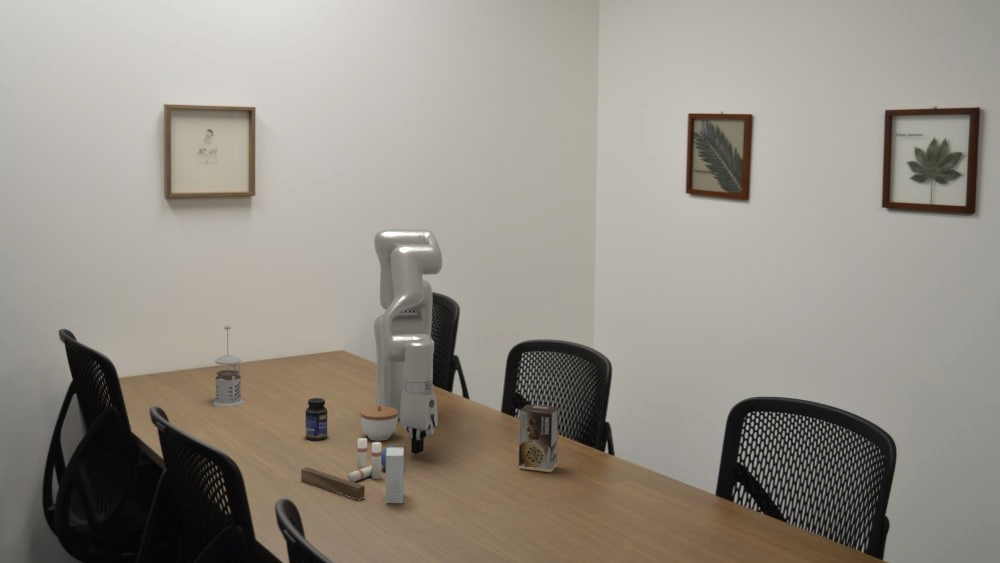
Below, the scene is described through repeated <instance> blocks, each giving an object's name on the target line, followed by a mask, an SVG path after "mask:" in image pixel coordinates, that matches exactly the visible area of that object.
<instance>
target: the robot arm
mask: <svg viewBox="0 0 1000 563" xmlns="http://www.w3.org/2000/svg"><path fill="white" fill-rule="evenodd" d="M374 236H375V237H374V249H375V252H376V256H377V258H378V261H379V266H380V274H379V275H380V279H379V280H380V282H379V302H380V306H381V308H382V309H384V310H385V311H384V312H383V314H381V315H379V316H377V317H376V318H375V320H374V322H373V332H374V333H373V334H374V339H375V348H376V381H375V382H376V386H375V388H376V389H375V390H376V391H375V392H376V398H375V399H376V400H375V401H376V403H375V404H376V405H375V406H378V405H381V406H386V407H392V408H395V409H397V410H398V420H399V422H400V424H401V428H403V429H404V430H406V431H407V433H408V436H409V438H410V440H411V441H410V443H411V444H410V447H411V450H410V452H411V454H414V455H418V454H419V455H420V454H421V453H423V452H424V450H425V449H424V445H425V441H424V440H425V439H426V438H427V436H432V435H434V434H435V429H434V428H437V427H438V425H439V422H438V421H439V420H438V419H439V414H438V403H437V397H436V394H435V393H436V392H434V390H435V385H434V384H433V379H434V378H433V373H434V368H433V366H434V353H435V342H434V339H433V338H432V337H431V336H432V324H433V322H432V318H433V301H434V300H433V289H432V285H431V284H430V282H429V281H427V280H425V279H424V278H423V275H427V276H428V275H438V274H439V273H440V272H441V271H442V268H443V254H442V250H441V248H440V247H441V246H440V245H439V243H438V241H437V238H436V237H435V236H436V235H435V234H434V233H433V232H432V231H431V230H430V229H429V230H428V229H382V230H380V231H378V232H377V233H376V234H375V235H374ZM409 311H411V312H409ZM413 311H414V312H413ZM403 312H404V313H403ZM405 312H407V313H405ZM408 312H409V313H408ZM412 312H413V313H412Z"/></svg>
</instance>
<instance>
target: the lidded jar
mask: <svg viewBox="0 0 1000 563" xmlns="http://www.w3.org/2000/svg"><path fill="white" fill-rule="evenodd" d="M359 413H360V414H359V415H360V426H361V429H362V431H363V433H364V434H365V436H367V437H368V439H369V440H370V441H371V440H372V441H375V442H381V441H386V440H389V439H390V437H391V436H392V435H394V433H395V431H396V430H397V427H398V420H399V419H398V410H397V409H395V408H392V407H386V406H381V405H378V406H376V405H375V406H373V405H372V406H368V407H365V408H363V409H361V410H360V412H359Z"/></svg>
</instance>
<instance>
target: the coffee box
mask: <svg viewBox="0 0 1000 563" xmlns="http://www.w3.org/2000/svg"><path fill="white" fill-rule="evenodd" d="M518 427H519V430H518V431H519V433H518V434H519V435H518V436H519V438H518V440H519V442H518V467H519V466H524V467H534V468H544V469H552V468H553V467H554V465H555V464H556V463H557V464H558V441H559V440H558V438H559V437H558V435H559V434H558V433H559V407H554V406H545V405H536V404H525V405H524V406H523V407H522V408H521V409H520V410H519V426H518Z"/></svg>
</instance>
